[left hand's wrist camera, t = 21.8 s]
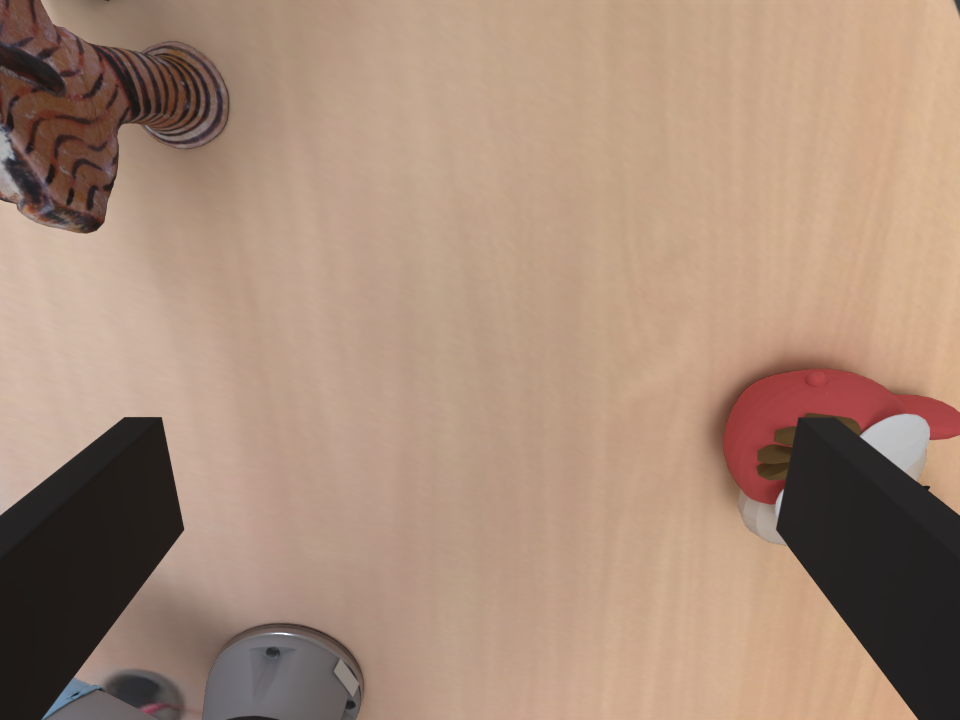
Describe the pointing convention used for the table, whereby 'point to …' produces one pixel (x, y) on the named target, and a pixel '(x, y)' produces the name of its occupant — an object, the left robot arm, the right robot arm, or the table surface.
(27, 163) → the figurine
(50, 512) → the left robot arm
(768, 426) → the toy
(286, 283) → the table surface
